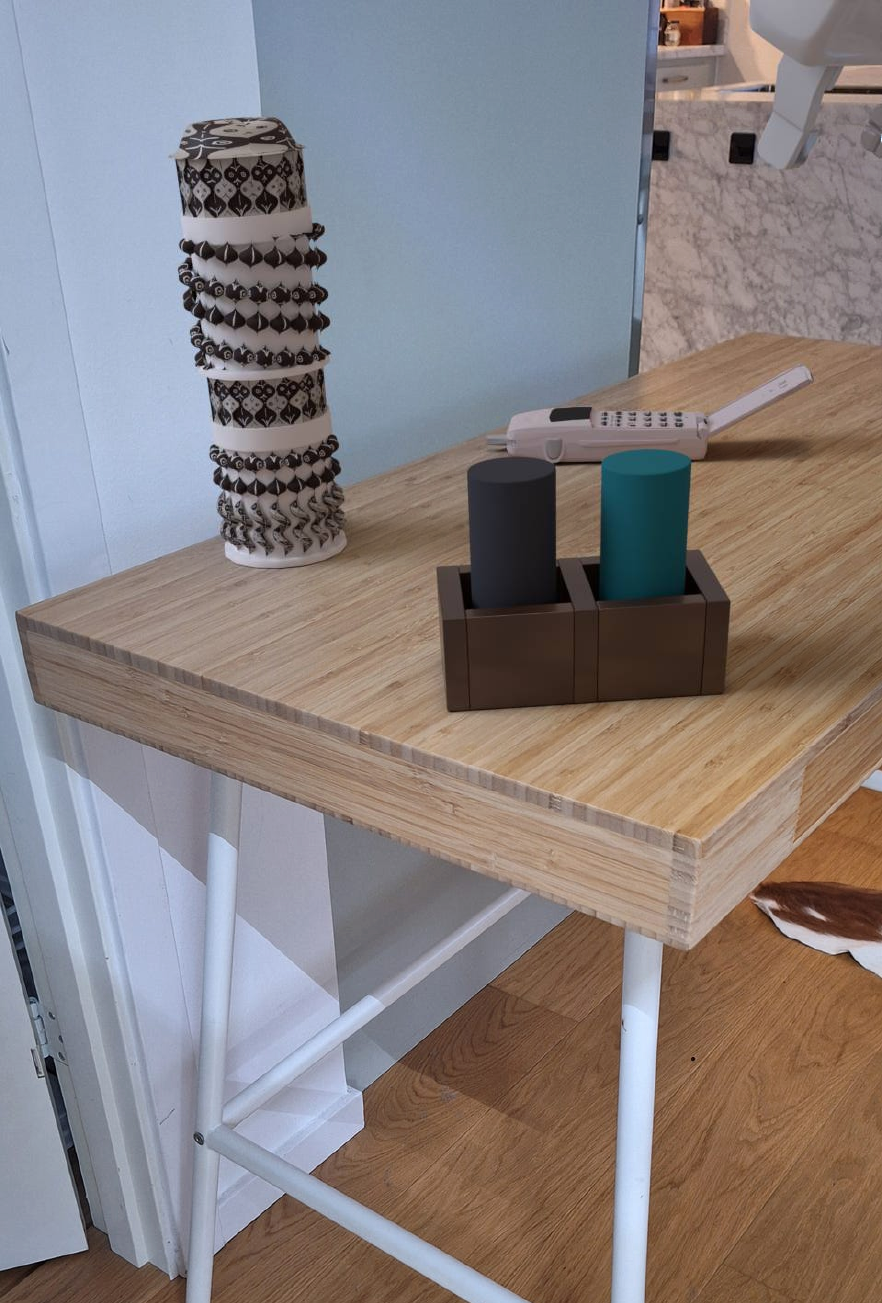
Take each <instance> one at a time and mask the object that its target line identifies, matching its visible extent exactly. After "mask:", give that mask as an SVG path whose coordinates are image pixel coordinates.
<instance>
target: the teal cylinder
mask: <svg viewBox="0 0 882 1303" xmlns="http://www.w3.org/2000/svg"><path fill="white" fill-rule="evenodd" d="M600 465H601V468H600V470H601V471H600V481H601V482H600V527H599V530H600V531H599V532H600V533H599V537H600V538H599V556H600V583H599V601H607V600H622V599H638V598H653V597H668V596H683V595H684V591H685V572H686V554H687V550H688V535H689V534H688V532H689V517H690V516H689V514H690V496H691V493H690V492H691V476H692V475H691V474H692V460H691V459H690V458H689V457H688V456H686V455H684V454H681V453H678V452H674V451H669V450H659V449H639V450H629V451H623V452H619V453H615V454H612V455H610V456H608V457H606V458H605V459H604V460H603V461H601V464H600Z"/></svg>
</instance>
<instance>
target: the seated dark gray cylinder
mask: <svg viewBox="0 0 882 1303" xmlns="http://www.w3.org/2000/svg"><path fill="white" fill-rule="evenodd" d="M466 481H467V482H466V485H467V508H468V535H469V557H470V559H469V560H470V561H469V562H470V564H471V587H472V609H483V608H498V607H514V606H529V605H544V604H556V559H557V467H556V465H555V463H551V462H549V461H546V460H543V459H538V458H532V457H517V456H504V457H496V458H490V459H486V460H482V461H479V462H477V463H476V462H475V463H474V464H472V465H471V466H469V467H468V469H467V470H466Z"/></svg>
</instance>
